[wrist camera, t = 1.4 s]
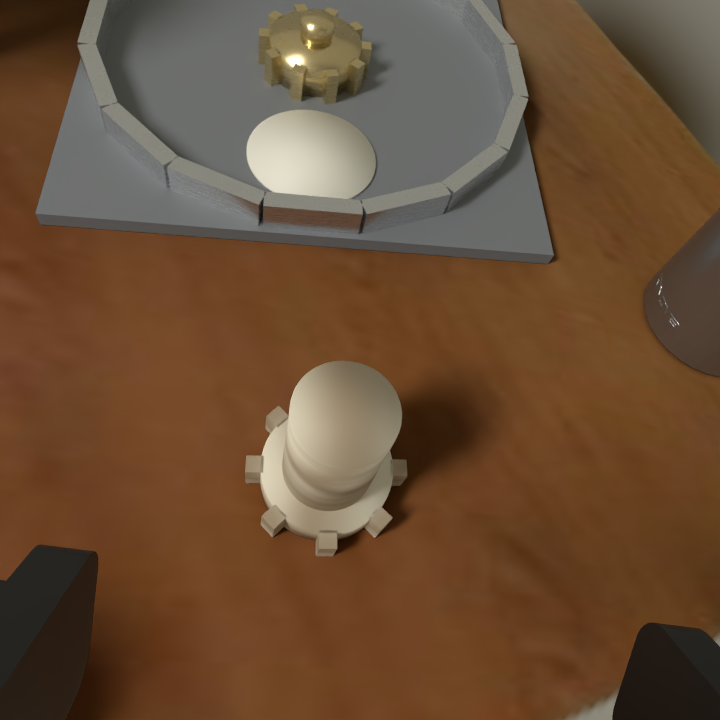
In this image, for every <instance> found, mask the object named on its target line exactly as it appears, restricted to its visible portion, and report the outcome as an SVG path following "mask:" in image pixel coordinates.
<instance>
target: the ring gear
mask: <svg viewBox="0 0 720 720" xmlns="http://www.w3.org/2000/svg"><path fill="white" fill-rule="evenodd" d="M132 1H133V0H90V2H89V5H88V8H87V12H86V15H85V18H84V22H83V25H82V28H81V32H80V35H79V38H78V41H77V43H78V49H79V53H80V57H81V61H82V64H83V68H84V71H85V74H86V77H87V80H88V83H89V86H90V88H91V91H92V94H93V97H94V100H95V102H96V105H97V108H98V111H99V114H100V116H101V119H102V122H103V125H104V128H105V130H107V133H108V134H109V135H110V136H111V137H112V138H113V139H114V140H115V141H116V142H118V143H119V144H120V145H121V146H122V147H123V148H124V149H125V150H126V151H127V152H128V153H130V154H131V155H132V156H133V157H134V158H135V159H136V160H137V161H138V162H139V163H140V164H141V165H143V166H144V167H145V168H146V169H147V170H148V171H149V172H150V173H151V174H152V175H153V176H155V177H156V178H157V179H158V180H159V181H160V182H161V183H162V184H163V185H164V186H165V187H167V188H168V187H170V189H171V191H174V192H176V193H179V194H181V195H184V196H186V197H188V198H191V199H193V200H196V201H198V202H201V203H203V204H206V205H208V206H211V207H213V208H215V209H218V210H220V211H223V212H225V213H228V214H230V215H233V216H235V217H238V218H240V219H242V220H245V221H247V222H250V223H252V224H255V225H257V226H259V224H260V223H261V221H262V219H263V227H268V228H281V229H293V230H305V231H317V232H330V233H342V234H354V235H358V233H359V229H360V231H361V233H362V234H366V233H370V232H374V231H378V230H382V229H386V228H390V227H394V226H398V225H402V224H406V223H410V222H414V221H418V220H422V219H426V218H430V217H434V216H438V215H442V214H443V213H444V211H445V212H446V213H447V212H448V211H449V210H450V209H452V208H453V207H454V206H456V205H457V204H458V203H459V202H461V201H462V200H463V199H465V198H466V197H467V196H468V195H470V194H471V193H472V192H474V191H475V190H476V189H477V188H479V187H480V186H481V185H483V184H484V183H485V182H486V181H488V180H489V179H490V178H492V177H493V176H494V175H495V174H497V173H498V172H499V170H500V169H501V167H502V165H503V162H504V160H505V158H506V156H507V154H508V152H509V150H510V147H511V144H512V142H513V139H514V136H515V134H516V131H517V128H518V126H519V123H520V120H521V118H522V115H523V112H524V110H525V107H526V104H527V101H528V97H529V96H528V92H527V88H526V84H525V79H524V75H523V71H522V66H521V62H520V58H519V53H518V49H517V45H515V42H514V40H513V39H512V38H511V37H510V35H509V34H508V33H507V32H506V30H505V29H504V28H503V26H502V25H501V24H500V23H499V21H498V20H497V19H496V18H495V16H494V15H493V14H492V13H491V11H490V10H489V9H488V7H487V6H486V5H485V4H484V2H483V1H482V0H432V1H433V2H435V3H436V4H438V5H439V6H440V7H442V8H443V9H445V10H446V11H448V12H449V13H450V14H452V15H453V16H455V17H456V18H458V19H459V20H460V21H461V22H462V23H463V24H464V26H465V27H466V28H467V30H468V31H469V32H470V34H471V35H472V36H473V38H474V39H475V40H476V42H477V43H478V44H479V46H480V47H481V48H482V50H483V51H484V52H485V54H486V55H487V56H488V58H489V59H490V60H491V62H492V63H493V64H494V66H495V71H496V76H497V81H498V86H499V91H500V96H501V101H502V105H503V110H504V118H503V120H502V123H501V125H500V128H499V130H498V133H497V135H496V138H495V140H494V143H493V144H492V145H491V146H489V147H488V148H487V149H485V150H484V151H483V152H481V153H480V154H479V155H477V156H476V157H475V158H473V159H472V160H471V161H469V162H468V163H466V164H465V165H464V166H462V167H461V168H460V169H458V170H457V171H456V172H454V173H453V174H452V175H450V176H449V177H447V178H446V179H445V180H443V181H442V182H438V183H434V184H429V185H425V186H421V187H416V188H412V189H408V190H403V191H399V192H394V193H390V194H386V195H381V196H377V197H373V198H368V199H364V200H353V199H342V198H331V197H319V196H308V195H297V194H286V193H275V192H265V191H263V190H260V189H258V188H255V187H253V186H251V185H248V184H246V183H243V182H241V181H238V180H236V179H233V178H231V177H228V176H226V175H223V174H221V173H218V172H216V171H213V170H211V169H209V168H206V167H204V166H201V165H199V164H196V163H194V162H191V161H189V160H186V159H184V158H181V157H179V156H177V155H176V154H175V153H174V152H173V151H172V150H171V149H169V148H168V147H167V146H166V145H165V144H164V143H163V142H162V141H160V140H159V139H158V138H157V137H156V136H155V135H154V134H153V133H152V132H150V131H149V130H148V129H147V128H146V127H145V126H144V125H143V124H141V123H140V122H139V121H138V120H137V119H136V118H135V117H134V116H133V115H131V114H130V113H129V112H128V111H127V110H126V109H125V108H124V107H122V106H121V105H120V104H119V103H118V102H117V99H116V96H115V94H114V91H113V88H112V86H111V83H110V80H109V78H108V75H107V72H106V70H105V67H104V64H103V62H104V58H105V54H106V50H107V46H108V43H109V39H110V35H111V31H112V27H113V24H114V20H115V17H116V16H117V15H118V14H119V13H120V12H121V11H122V10H123V9H125V8H126V7H127V6H128V5H129V4H130V3H131V2H132Z"/></svg>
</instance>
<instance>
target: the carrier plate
mask: <svg viewBox="0 0 720 720" xmlns="http://www.w3.org/2000/svg"><path fill="white" fill-rule="evenodd" d="M482 1H483V2H484V4H485V5H486V6H487V7H488V9H489V10H490V11H491V13H492V14H493V15H494V16H495V18H496V19H497V20H498V21H499V23H500V24H501V25H502V26H503V23H502V19H501V14H500V10H499V5H498V1H497V0H482ZM296 4H305V5H306V7H307V9H322V10H325V11H326V9H327V7H329V8H332V9H335V10H338V17H339V18H341V19H343V20H344V21H346V22H347V23H352V22H355V21H357V22H358V23H359V24H360V25H361V26H362V27H363V34H362V40H361V41H365V42H371V47H372V51H371V56H370V61H369V66H368V72H367V77H363V78H362V84H361V89H360V91H359V92H358V93H357V94H356V95H354V96H353V95H351V94H349V93H348V92H346V91H345V92H343V93H341V94H339V95H337V96H336V103H332V104H324V103H323V100H322V98H321V97H309V96H304V97H303V99H302V101H301V102H300V101H297V100H294V99H291V98H290V90H289V89H287V88H285V87H284V86H282V85H281V84H277V85H274V86H270V85H269V84H268V83H267V81H266V80H265V65H261V64H258V57H259V28H264V29H267V27H268V15H269V14H270V13H272V12H273V11H275V10H276V11H277V12H279V13H281V14H282V15H284V14H287V13H289V12H293V11H294V5H296ZM103 64H104V67H105V70H106V72H107V75H108V78H109V80H110V83H111V86H112V88H113V91H114V94H115V96H116V99H117V102H118V103H119V104H120V105H121V106H122V107H124V108H125V109H126V110H127V111H128V112H129V113H130V114H131V115H133V116H134V117H135V118H136V119H137V120H138V121H139V122H140V123H141V124H143V125H144V126H145V127H146V128H147V129H148V130H149V131H150V132H152V133H153V134H154V135H155V136H156V137H157V138H158V139H159V140H160V141H162V142H163V143H164V144H165V145H166V146H167V147H168V148H169V149H171V150H172V151H173V152H174V153H175V154H176V155H177V156H179V157H181V158H184V159H186V160H189V161H191V162H194V163H196V164H199V165H201V166H204V167H206V168H209V169H211V170H213V171H216V172H218V173H221V174H223V175H226V176H228V177H231V178H233V179H236V180H238V181H241V182H243V183H246V184H248V185H251V186H253V187H255V188H258V189H260V190H263V191H265V192H275V193H286V194H297V195H308V196H319V197H331V198H342V199H353V200H364V199H368V198H373V197H377V196H381V195H386V194H390V193H394V192H399V191H403V190H408V189H412V188H416V187H421V186H425V185H429V184H434V183H438V182H442V181H443V180H445V179H446V178H447V177H449V176H450V175H452V174H453V173H454V172H456V171H457V170H458V169H460V168H461V167H462V166H464V165H465V164H466V163H468V162H469V161H471V160H472V159H473V158H475V157H476V156H477V155H479V154H480V153H481V152H483V151H484V150H485V149H487V148H488V147H489V146H491V145H492V144H493V143H494V140H495V138H496V135H497V133H498V130H499V128H500V125H501V123H502V120H503V118H504V110H503V105H502V101H501V96H500V91H499V86H498V81H497V76H496V71H495V66H494V64H493V63H492V62H491V60H490V59H489V58H488V56H487V55H486V54H485V52H484V51H483V50H482V48H481V47H480V46H479V44H478V43H477V42H476V40H475V39H474V38H473V36H472V35H471V34H470V32H469V31H468V30H467V28H466V27H465V26H464V24H463V23H462V22H461V21H460V20H459V19H458V18H456V17H455V16H453V15H452V14H450V13H449V12H448V11H446V10H445V9H443V8H442V7H440V6H439V5H438V4H436V3H435V2H433V1H432V0H133V1H132V2H131V3H130V4H129V5H128V6H127V7H126V8H125V9H123V10H122V11H121V12H120V13H119V14H118V15H117V16H116V17H115V20H114V24H113V27H112V31H111V35H110V39H109V43H108V46H107V50H106V54H105V58H104V62H103ZM35 214H36V216H37V218H38V221H39V223H40V224H42V225H55V226H68V227H80V228H93V229H106V230H119V231H132V232H145V233H157V234H170V235H183V236H196V237H209V238H221V239H234V240H247V241H260V242H273V243H285V244H298V245H311V246H324V247H337V248H350V249H362V250H375V251H388V252H401V253H414V254H426V255H439V256H452V257H465V258H478V259H491V260H503V261H516V262H529V263H542V264H548V263H549V262H550V260H551V259H552V257H553V256H554V253H553V249H552V244H551V240H550V235H549V231H548V226H547V222H546V217H545V213H544V208H543V204H542V199H541V195H540V190H539V186H538V181H537V177H536V172H535V168H534V163H533V159H532V154H531V150H530V145H529V141H528V136H527V132H526V127H525V123H524V118H523V115H522V118H521V120H520V123H519V126H518V128H517V131H516V134H515V136H514V139H513V142H512V144H511V147H510V150H509V152H508V154H507V156H506V158H505V160H504V162H503V165H502V167H501V169H500V170H499V172H498V173H497V174H495V175H494V176H493V177H492V178H490V179H489V180H488V181H486V182H485V183H484V184H483V185H481V186H480V187H479V188H477V189H476V190H475V191H474V192H472V193H471V194H470V195H468V196H467V197H466V198H465V199H463V200H462V201H461V202H459V203H458V204H457V205H456V206H454V207H453V208H452V209H450V210H449V211H448V212H447V213H446V212H445V211H444V213H443V214H442V215H438V216H434V217H430V218H426V219H422V220H418V221H414V222H410V223H406V224H402V225H398V226H394V227H390V228H386V229H382V230H378V231H374V232H370V233H366V234H362V233H361V231H360V229H359V233H358V235H354V234H342V233H330V232H317V231H305V230H293V229H281V228H268V227H263V219H262V221H261V223H260V224H259V226H257V225H255V224H252V223H250V222H247V221H245V220H242V219H240V218H238V217H235V216H233V215H230V214H228V213H225V212H223V211H220V210H218V209H215V208H213V207H211V206H208V205H206V204H203V203H201V202H198V201H196V200H193V199H191V198H188V197H186V196H184V195H181V194H179V193H176V192H174V191H171V189H170V187H168V188H167V187H165V186H164V185H163V184H162V183H161V182H160V181H159V180H158V179H157V178H156V177H155V176H153V175H152V174H151V173H150V172H149V171H148V170H147V169H146V168H145V167H144V166H143V165H141V164H140V163H139V162H138V161H137V160H136V159H135V158H134V157H133V156H132V155H131V154H130V153H128V152H127V151H126V150H125V149H124V148H123V147H122V146H121V145H120V144H119V143H118V142H116V141H115V140H114V139H113V138H112V137H111V136H110V135H109V134H108V133H107V130H105V128H104V125H103V122H102V119H101V116H100V114H99V111H98V108H97V105H96V102H95V100H94V97H93V94H92V91H91V88H90V86H89V83H88V80H87V77H86V74H85V71H84V68H83V64H82V61H81V59H80V62H79V66H78V69H77V73H76V76H75V79H74V83H73V86H72V90H71V93H70V97H69V100H68V103H67V107H66V110H65V114H64V117H63V121H62V124H61V127H60V131H59V134H58V138H57V141H56V145H55V148H54V151H53V155H52V158H51V162H50V165H49V169H48V172H47V175H46V179H45V182H44V186H43V189H42V192H41V196H40V199H39V203H38V206H37V210H36V213H35Z"/></svg>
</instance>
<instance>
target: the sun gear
mask: <svg viewBox="0 0 720 720" xmlns="http://www.w3.org/2000/svg"><path fill="white" fill-rule="evenodd" d="M362 34H363V27H362V26H361V25H360V24H359V23H358V22H357V21H355V22H352V23H347V22H346V21H344V20H343V19H341V18H339V17H338V10H335V9H332V8H329V7H327V9H326V11H325V10H322V9H307V7H306V5H305V4H296V5H294V11H293V12H289V13H287V14H284V15H282V14H281V13H279V12H277V11H276V10H275V11H273V12H272V13H270V14H269V15H268V27H267V29H264V28H259V57H258V64H261V65H265V80H266V81H267V83H268V84H269V85H270V86H274V85H277V84H281V85H282V86H284V87H285V88H287V89H289V90H290V98H291V99H294V100H297V101H300V102H301V101H302V99H303V97H304V96H309V97H321V98H322V100H323V103H324V104H332V103H336V96H337V95H339V94H341V93H343V92H345V91H346V92H348V93H349V94H351V95H353V96H354V95H356V94H357V93H358V92H359V91H360V89H361V84H362V78H363V77H367V72H368V66H369V61H370V56H371V51H372V47H371V42H365V41H361V40H362Z"/></svg>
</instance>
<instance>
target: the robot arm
mask: <svg viewBox="0 0 720 720" xmlns="http://www.w3.org/2000/svg"><path fill="white" fill-rule="evenodd" d="M644 308H645V313H646V317H647V319H648V322H649V324H650V327H651V329H652V330H653V332H654V333H655V335H656V336H657V338H658V339H659V341H660V342H661V343H662V344H663V345H664V346H665V347H666V348H667V350H668V351H670V352H671V353H672V354H673V355H674V356H676V357H677V358H678V359H679V360H681V361H682V362H684V363H685V364H687V365H689V366H690V367H692V368H694V369H696V370H699V371H701V372H704V373H706V374H710V375H714V376H718V377H720V208H719V209H718V210H717V211H716V212H715V213H714V215H713V216H712V217H711V218H710V219H709V220H708V221H707V222H706V223H705V224H704V225H703V226H702V227H701V228H700V229H699V230H698V231H697V232H696V233H695V234H694V235H693V236H692V237H691V238H690V239H689V240H688V241H687V242H686V243H685V244H684V246H683V247H682V248H681V249H680V250H679V251H678V252H677V253H676V254H675V255H674V256H673V257H672V258H671V259H670V260H669V261H668V262H667V263H666V264H665V265H664V266H663V267H662V268H661V269H660V270H659V272H658V273H657V274H656V275H655V276H654V277H653V278H652V279H651V281H650V282H649V283H648V285H647V288H646V291H645V293H644ZM97 573H98V555H97V553H96V552H94V551H87V550H79V549H71V548H63V547H55V546H47V545H38V546H36V547H35V548H34V549H33V550H32V551H31V552H30V553H29V554H28V556H27V557H26V558H25V559H24V560H23V562H22V563H21V564H20V565H19V566H18V568H17V569H16V570H15V571H14V572H13V574H12V575H11V576H10V577H9V578H8V579H7V581H3V580H0V720H65V719H66V717H67V715H68V713H69V711H70V709H71V707H72V705H73V703H74V701H75V699H76V696H77V694H78V691H79V688H80V686H81V682H82V679H83V676H84V672H85V668H86V664H87V660H88V655H89V648H90V639H91V629H92V620H93V611H94V601H95V592H96V582H97ZM613 720H720V647H719V646H718V644H717V643H716V642H715V641H714V640H713V639H712V638H711V637H710V636H709V635H708V634H707V633H706V632H704V631H703V630H701V629H698V628H691V627H683V626H675V625H667V624H659V623H648V624H646V625H644V626H643V627H642V628H641V629H640V631H639V633H638V635H637V638H636V641H635V644H634V647H633V650H632V653H631V656H630V659H629V662H628V665H627V668H626V672H625V675H624V678H623V681H622V684H621V687H620V690H619V693H618V696H617V699H616V702H615V706H614V710H613Z"/></svg>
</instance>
